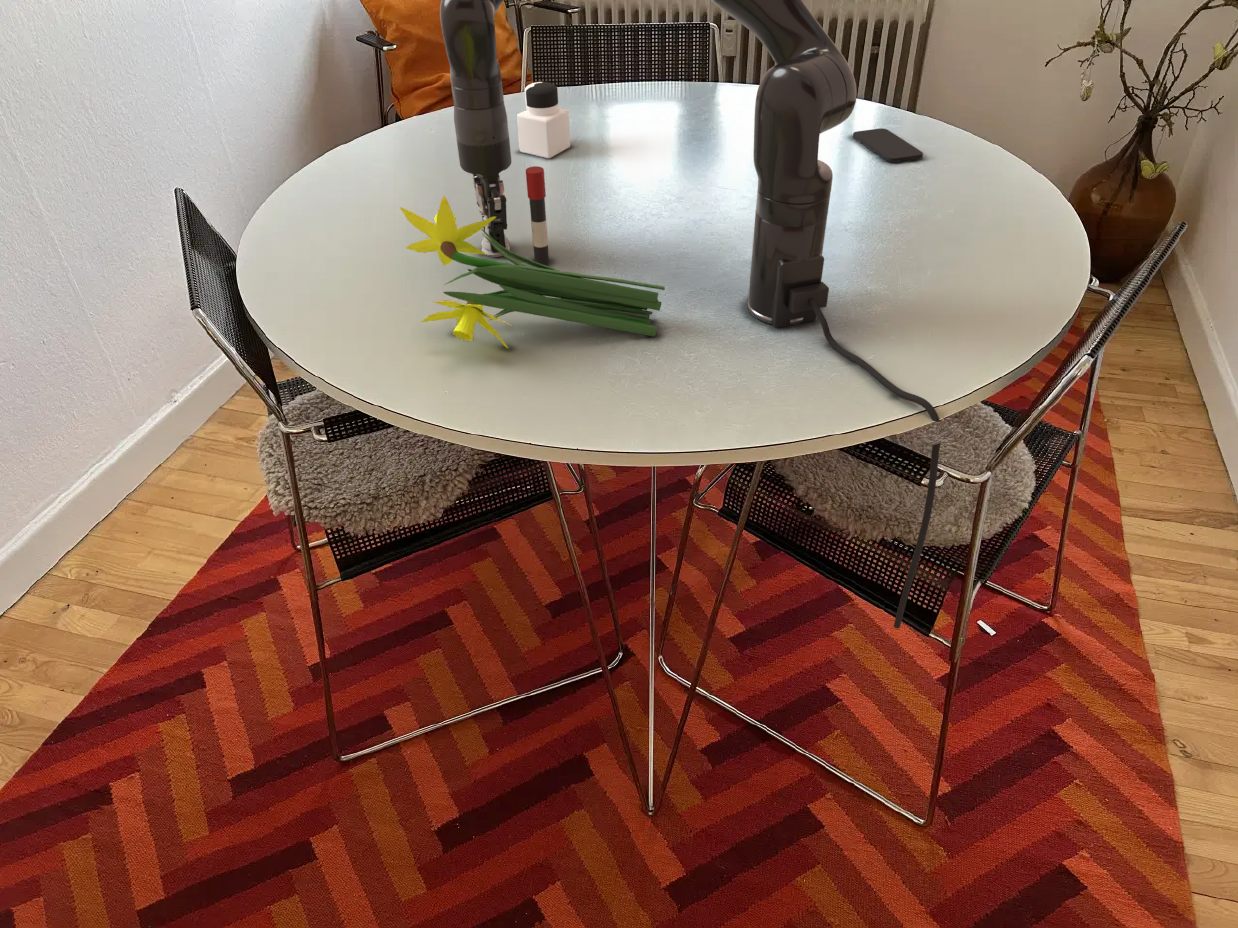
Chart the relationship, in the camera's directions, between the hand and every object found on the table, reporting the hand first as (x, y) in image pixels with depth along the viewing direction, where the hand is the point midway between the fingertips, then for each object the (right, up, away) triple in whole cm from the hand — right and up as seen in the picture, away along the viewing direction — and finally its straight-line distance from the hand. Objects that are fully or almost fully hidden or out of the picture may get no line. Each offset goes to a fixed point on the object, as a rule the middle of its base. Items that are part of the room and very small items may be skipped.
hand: (495, 243), depth 141 cm
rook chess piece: (0, -1, +1) cm, 1 cm away
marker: (+7, -3, -2) cm, 9 cm away
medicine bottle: (+5, +26, +34) cm, 43 cm away
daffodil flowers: (+9, -16, -17) cm, 25 cm away
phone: (+70, +26, +31) cm, 81 cm away
